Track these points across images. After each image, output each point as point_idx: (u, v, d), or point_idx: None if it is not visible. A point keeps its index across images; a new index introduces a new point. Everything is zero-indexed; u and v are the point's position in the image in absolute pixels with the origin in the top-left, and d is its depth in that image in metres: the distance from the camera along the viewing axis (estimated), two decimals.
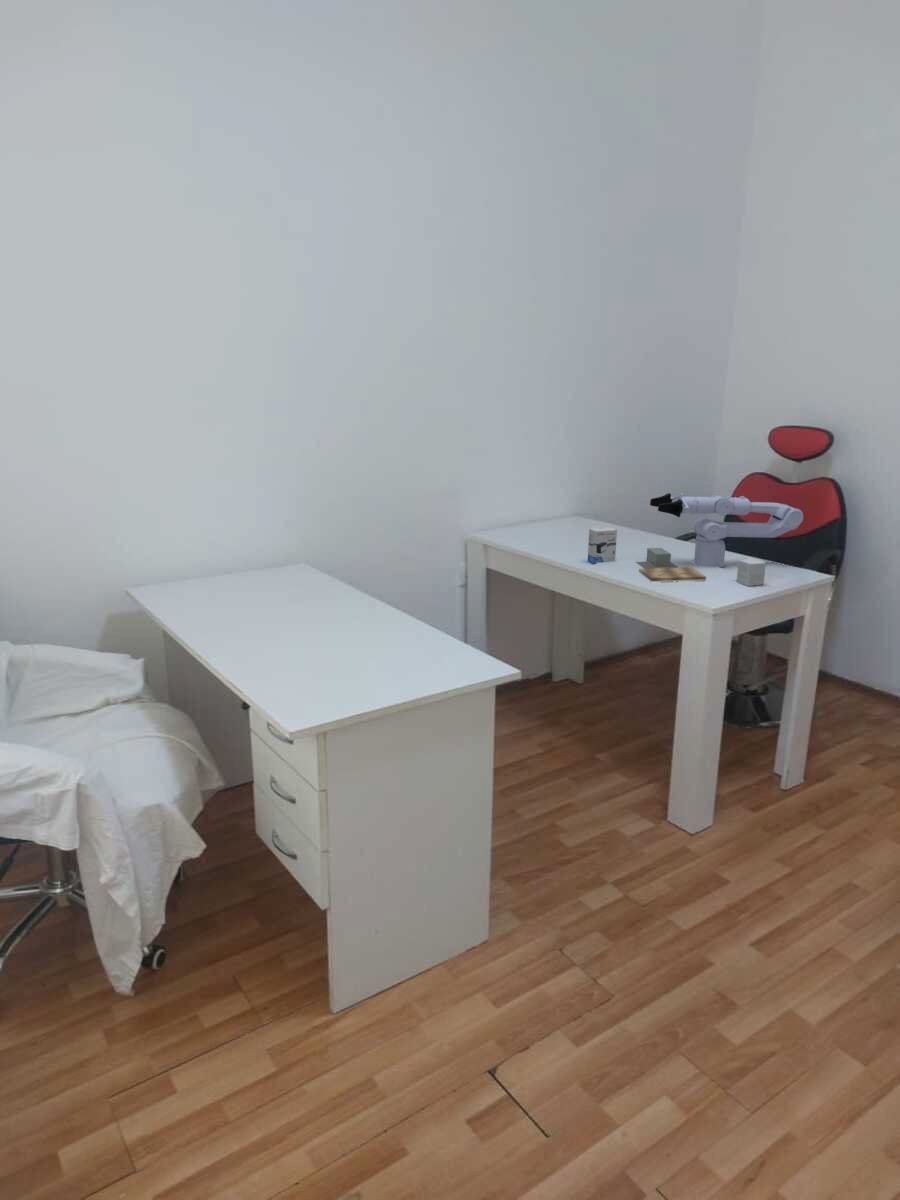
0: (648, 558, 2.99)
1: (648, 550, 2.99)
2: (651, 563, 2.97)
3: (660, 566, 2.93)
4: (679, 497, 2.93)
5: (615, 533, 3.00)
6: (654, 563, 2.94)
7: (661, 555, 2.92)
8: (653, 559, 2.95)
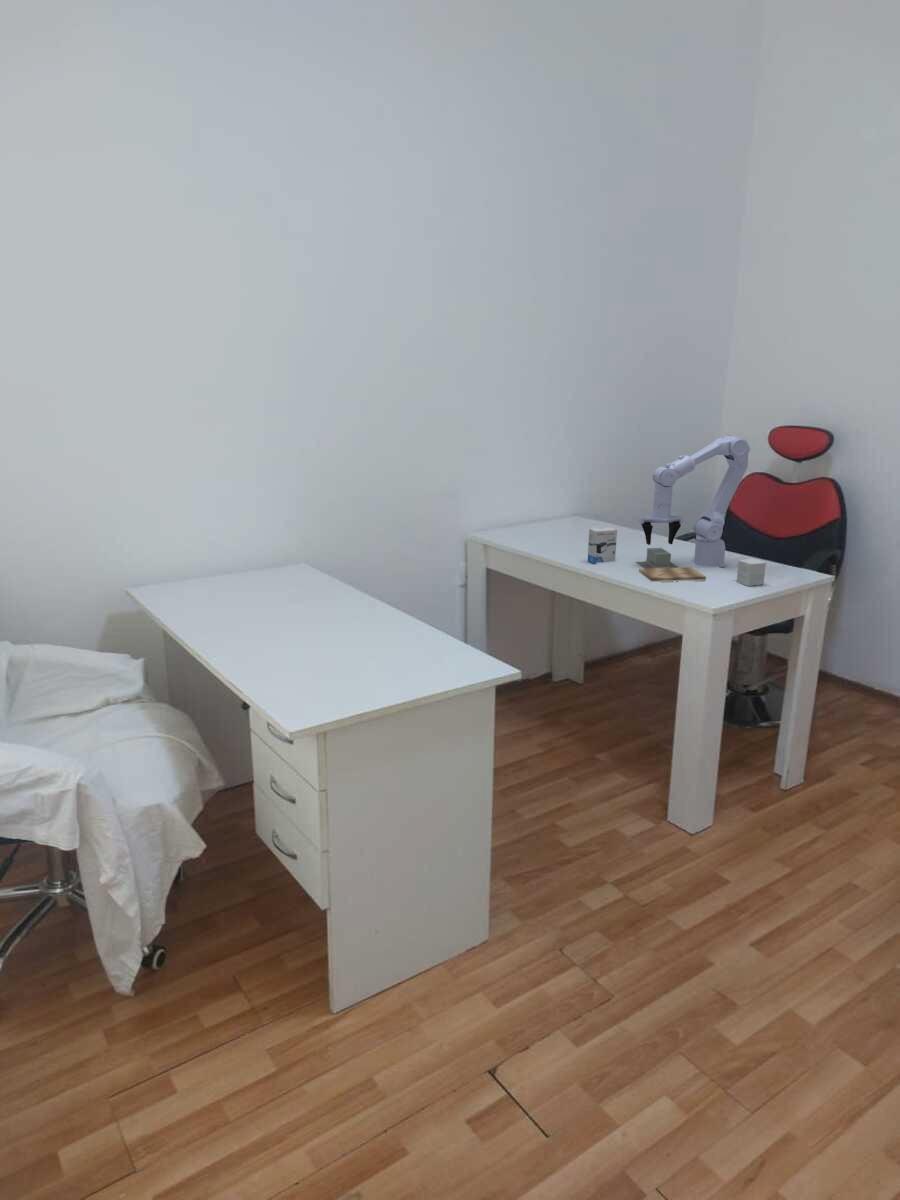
0: (648, 558, 2.99)
1: (648, 550, 2.99)
2: (651, 563, 2.97)
3: (660, 566, 2.93)
4: None
5: (615, 533, 3.00)
6: (654, 563, 2.94)
7: (661, 555, 2.92)
8: (653, 559, 2.95)
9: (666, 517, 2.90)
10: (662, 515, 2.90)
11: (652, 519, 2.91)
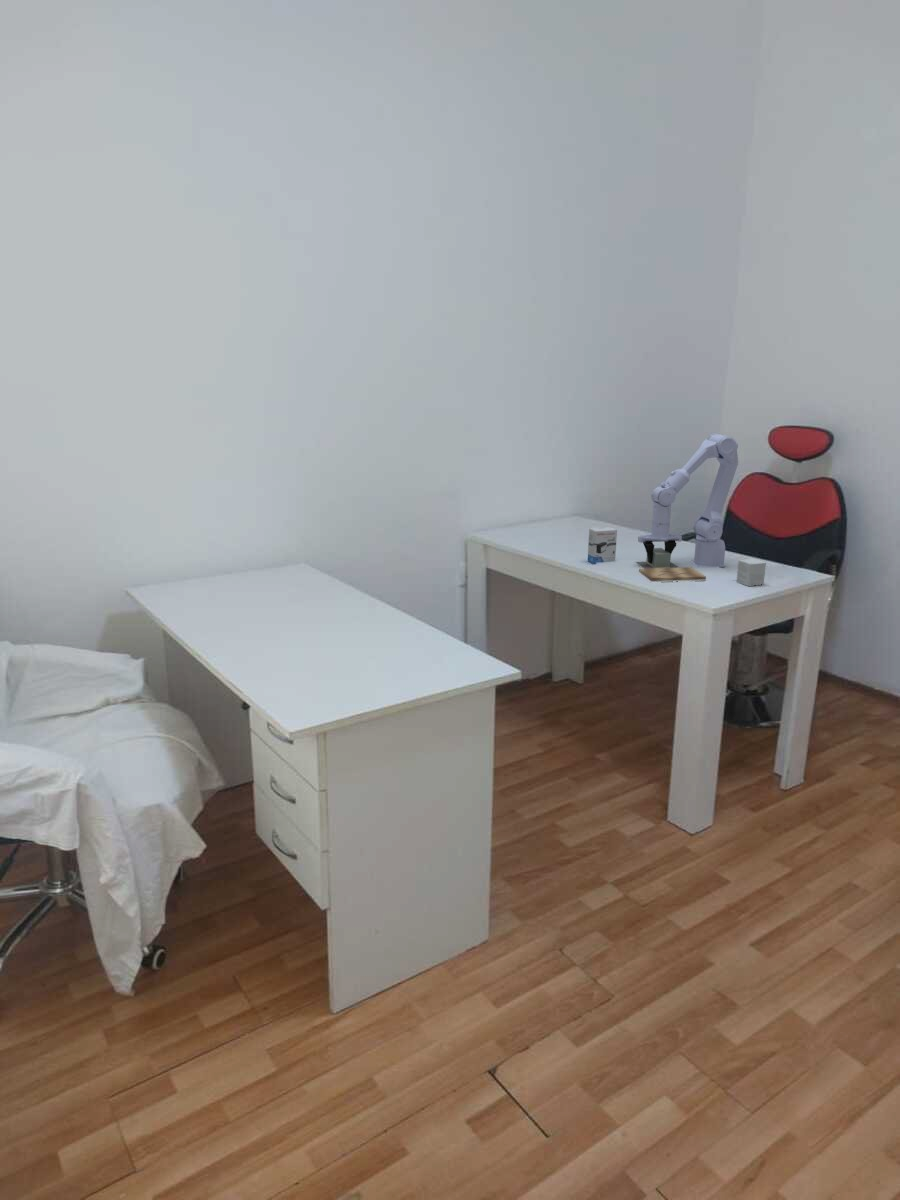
0: None
1: None
2: (651, 563, 2.97)
3: (660, 566, 2.93)
4: None
5: (615, 533, 3.00)
6: (654, 563, 2.94)
7: (661, 555, 2.92)
8: (653, 559, 2.95)
9: (665, 536, 2.92)
10: (661, 534, 2.92)
11: (651, 538, 2.93)
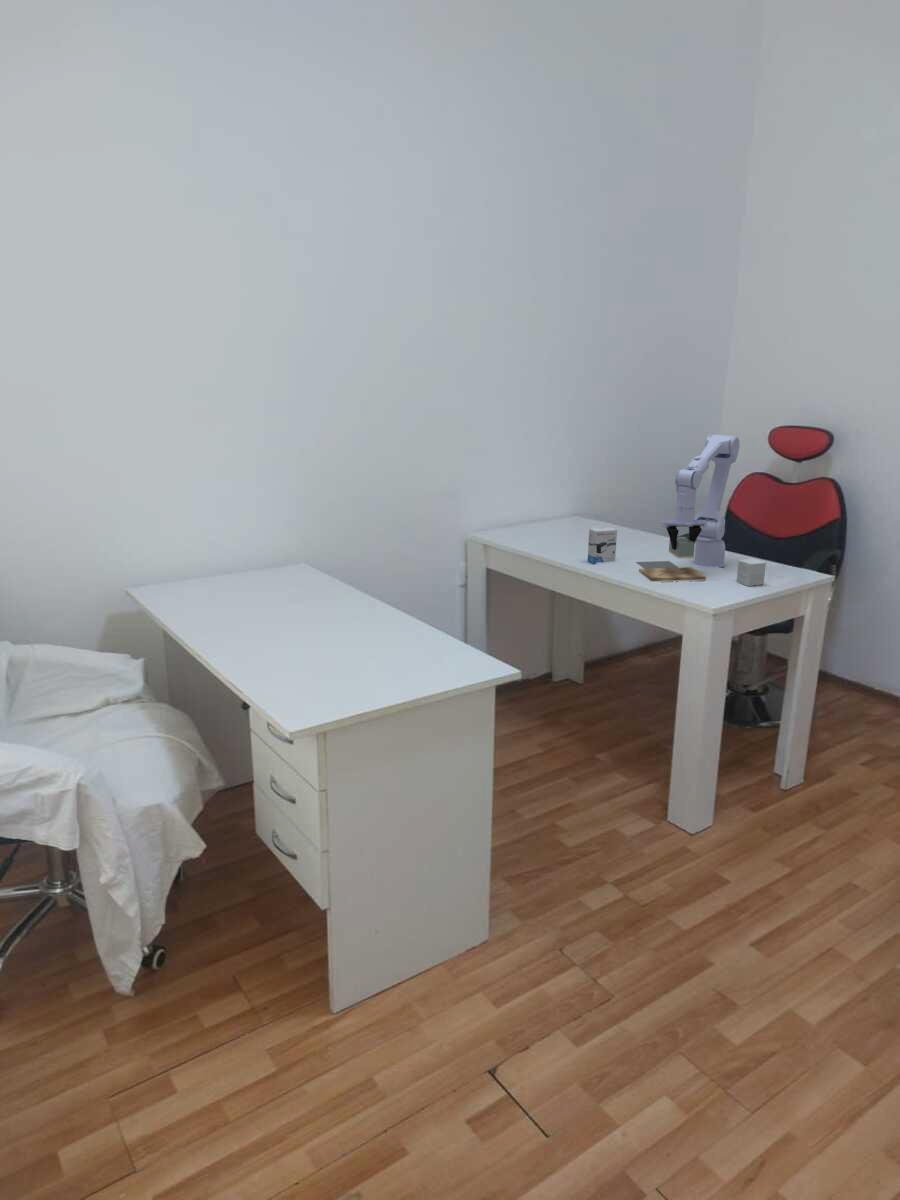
0: (671, 547, 2.88)
1: None
2: (674, 552, 2.85)
3: (683, 555, 2.82)
4: None
5: (615, 533, 3.00)
6: (677, 553, 2.82)
7: (685, 544, 2.80)
8: (676, 548, 2.83)
9: (689, 521, 2.80)
10: (685, 519, 2.79)
11: (675, 523, 2.80)
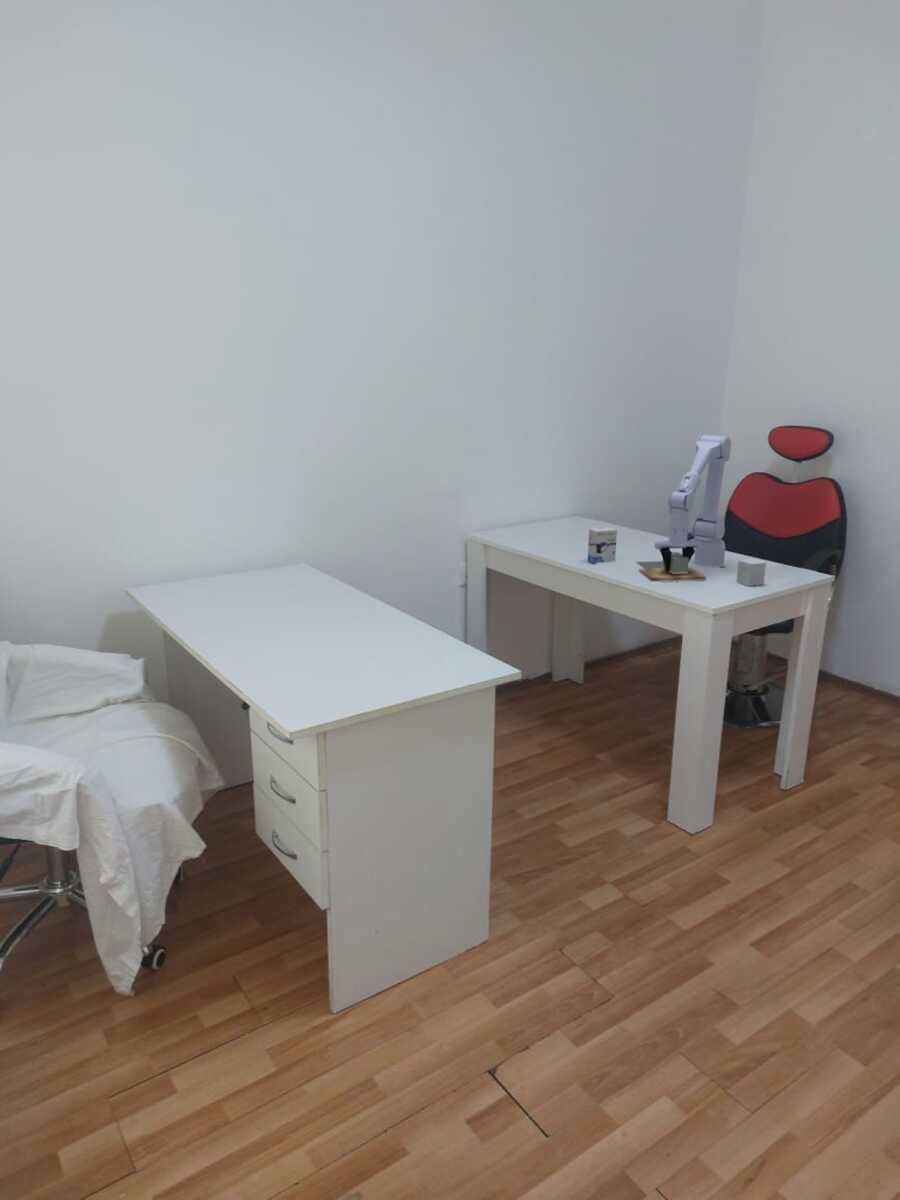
0: None
1: None
2: None
3: (678, 571, 2.81)
4: (679, 546, 2.80)
5: (615, 533, 3.00)
6: (672, 568, 2.81)
7: (679, 559, 2.80)
8: (670, 563, 2.83)
9: (683, 543, 2.80)
10: (678, 541, 2.79)
11: (668, 545, 2.80)
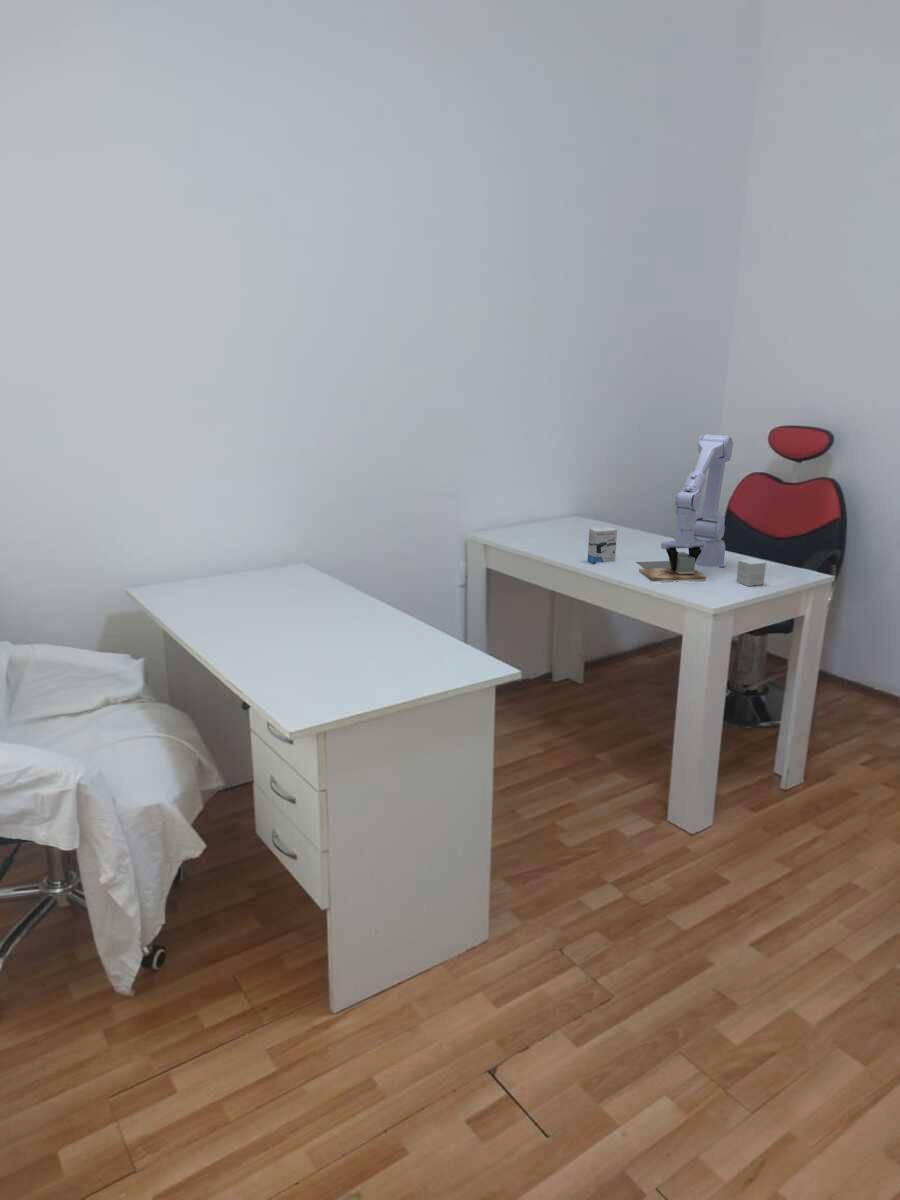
0: (670, 563, 2.88)
1: None
2: None
3: (684, 571, 2.81)
4: None
5: (615, 533, 3.00)
6: (678, 568, 2.82)
7: (685, 559, 2.80)
8: (676, 563, 2.83)
9: (689, 543, 2.80)
10: (685, 541, 2.80)
11: (675, 545, 2.81)
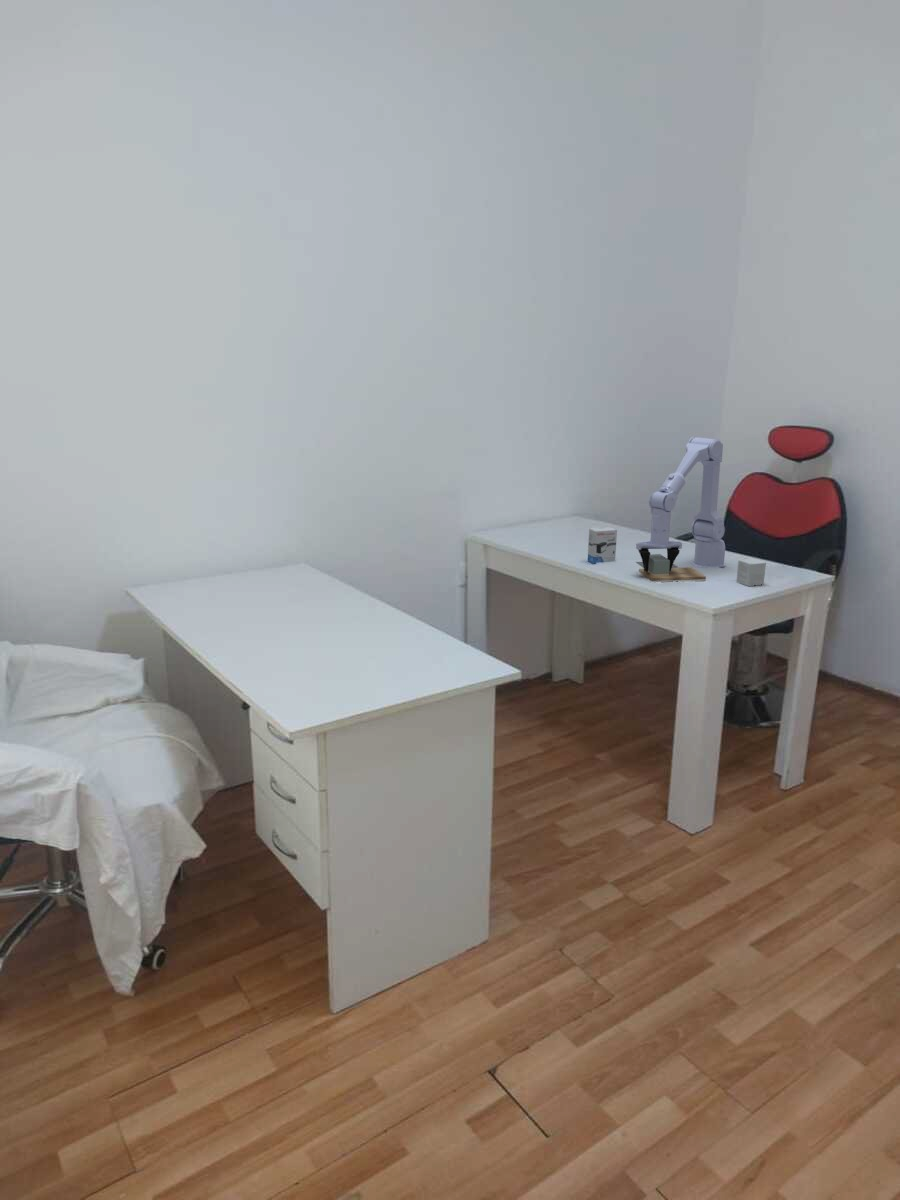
0: None
1: None
2: (649, 570, 2.84)
3: (659, 573, 2.81)
4: None
5: (615, 533, 3.00)
6: (653, 570, 2.81)
7: (660, 562, 2.79)
8: (651, 566, 2.82)
9: (664, 543, 2.79)
10: (660, 541, 2.79)
11: (650, 545, 2.80)
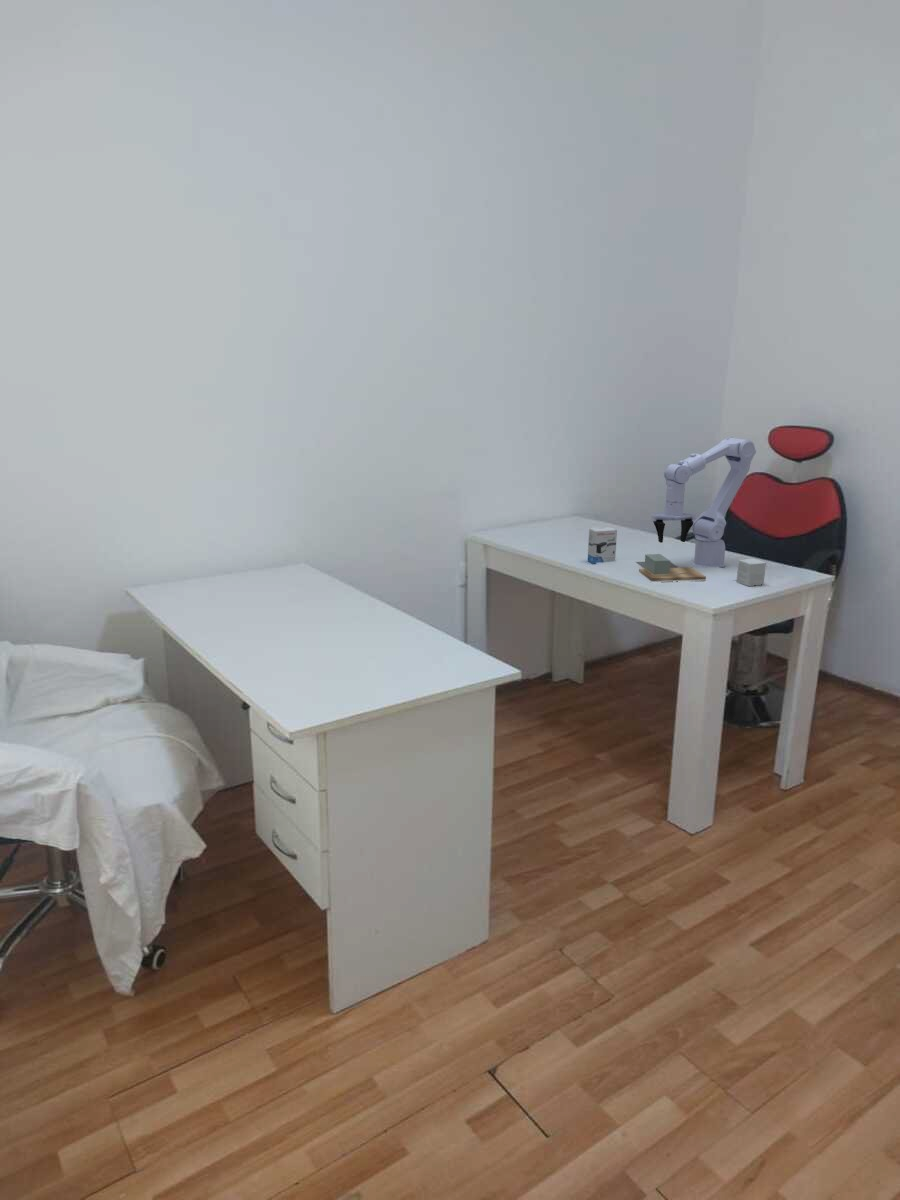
0: (646, 565, 2.87)
1: (646, 556, 2.87)
2: (649, 570, 2.84)
3: (659, 573, 2.81)
4: None
5: (615, 533, 3.00)
6: (653, 570, 2.81)
7: (660, 562, 2.79)
8: (651, 566, 2.82)
9: (678, 515, 2.88)
10: (674, 513, 2.87)
11: (664, 517, 2.88)
